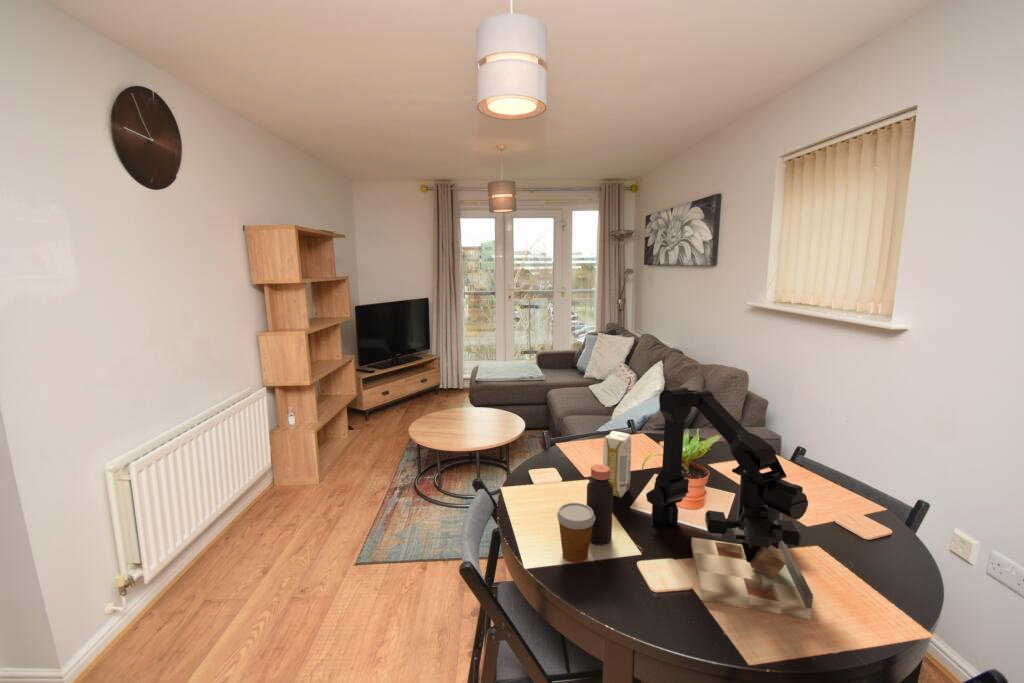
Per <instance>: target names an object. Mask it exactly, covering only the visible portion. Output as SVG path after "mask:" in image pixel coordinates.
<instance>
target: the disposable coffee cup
mask: <svg viewBox="0 0 1024 683" xmlns="http://www.w3.org/2000/svg"><path fill="white" fill-rule="evenodd" d="M556 518H557V521H558V525H559V533H560V542H561V551H562V557H563V558H564V560H566V562H568V563H571V564H582V563H584V562H586V561H587V560H588V558H589V551H590V546H591V545H590V544H591V542H590V540H591V534H592V528H593V524H594V522H595V515H594V512H593V510H592V509H591V508H590V507H589V506H587V504H584V503H581V502H568V503H564V504H563V505H561V506H560V507H559V508H558V511H557V513H556Z"/></svg>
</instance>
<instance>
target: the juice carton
mask: <svg viewBox="0 0 1024 683" xmlns="http://www.w3.org/2000/svg"><path fill="white" fill-rule="evenodd" d="M631 436H632V435H631V434H630V433H627V432H622V431H616V430H611V432H610V433H609V434H607V435H605V436H604V440H603V445H602V446H603V449H602V465H606V466H608V467H609V468H610V479H609V482H610V483H611V484H612V486H613V497H618V498H622V497H623V496H624V495H625V493H626V492H627V491H628V490H629V488H630V483H631V466H632V465H631V464H632V463H631V461H632V438H631Z"/></svg>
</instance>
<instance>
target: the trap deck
mask: <svg viewBox="0 0 1024 683" xmlns="http://www.w3.org/2000/svg"><path fill="white" fill-rule="evenodd" d="M788 546H789V545H788V544H785V543H784V542H783V541H782V540H781V542H778V548H777V549H779V550H780V551H781V554H782V556H783V558H784V560H785V563H786V564H785V565H784V567H783V568H782V569H781V570H780V572H779V573H778V574H777V575H776V577H775V578H774V579H773V580H772V579H770V578H769V577H767V576H765V575H764V574H762V573H760V572H759V571H757V570H755V569H754V568H752V567H751V565H750V563H749V562H747V561H746V558H745V554H744V550H743V547H742V543H741V544H739V543H733V542H726V541H718V540H712V539H705V538H698V537H691V545H690V547H691V553H692V559H693V565H694V570H695V575H696V581H697V587H698V592H699V598H700V601H706V602H712V603H716V604H717V603H718V604H723V605H728V606H733V607H734V606H735V607H739V608H745V609H751V610H754V611H755V610H756V611H760V612H761V611H762V612H766V613H767V612H768V613H773V614H777V615H778V614H779V615H782V616H783V615H784V616H789V617H793V618H799V619H805V620H806V619H807V620H811V619H812V618H811V617H812V610H813V601H814V600H813V599H814V594H813V592H812V591H811V589H810V586H809V585H808V583H807V581H806V578H805V577H804V575H803V573H802V571H801V570H800V567H799V566H798V564H797V561H795V558H794V556H793V554H792V552H791V550H790V549H789V547H788Z"/></svg>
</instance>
